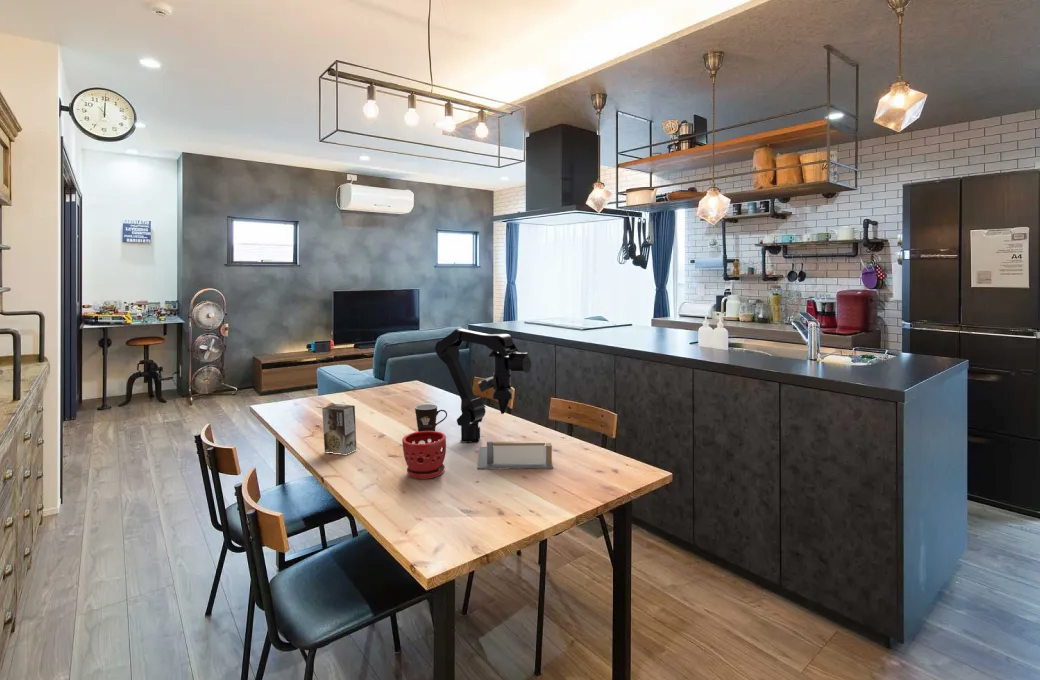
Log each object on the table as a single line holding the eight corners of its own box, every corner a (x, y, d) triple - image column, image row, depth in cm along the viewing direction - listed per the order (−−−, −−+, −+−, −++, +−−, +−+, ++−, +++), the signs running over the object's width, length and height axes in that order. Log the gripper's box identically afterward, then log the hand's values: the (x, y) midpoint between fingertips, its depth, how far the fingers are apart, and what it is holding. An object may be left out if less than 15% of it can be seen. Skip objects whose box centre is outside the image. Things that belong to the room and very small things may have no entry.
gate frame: (477, 469, 175) (477, 447, 174) (479, 448, 196) (479, 428, 195) (553, 468, 176) (553, 446, 175) (547, 447, 197) (547, 428, 196)
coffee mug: (411, 433, 213) (410, 408, 211) (423, 427, 221) (422, 403, 219) (437, 437, 208) (436, 411, 207) (448, 431, 216) (448, 406, 215)
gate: (487, 464, 176) (486, 443, 176) (487, 462, 178) (487, 441, 177) (545, 463, 177) (545, 442, 176) (544, 461, 179) (544, 440, 178)
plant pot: (408, 466, 178) (407, 430, 176) (449, 466, 177) (448, 430, 176) (398, 481, 165) (397, 442, 163) (442, 482, 164) (442, 443, 163)
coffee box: (357, 450, 193) (355, 405, 191) (346, 456, 187) (344, 409, 185) (335, 447, 196) (333, 403, 194) (323, 453, 190) (321, 407, 188)
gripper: (480, 365, 203) (480, 407, 205) (478, 375, 184) (478, 421, 186) (510, 365, 203) (510, 407, 205) (511, 375, 185) (511, 420, 187)
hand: (502, 413), depth 196 cm, fingers closed
